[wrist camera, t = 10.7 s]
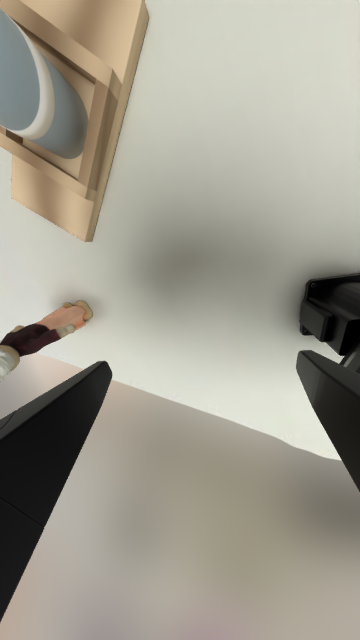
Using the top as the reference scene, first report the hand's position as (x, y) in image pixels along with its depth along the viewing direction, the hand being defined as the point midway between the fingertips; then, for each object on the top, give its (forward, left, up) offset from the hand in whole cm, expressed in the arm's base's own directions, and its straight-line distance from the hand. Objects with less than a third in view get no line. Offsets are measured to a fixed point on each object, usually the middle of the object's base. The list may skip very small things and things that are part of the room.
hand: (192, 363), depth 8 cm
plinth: (+9, -16, -13) cm, 22 cm away
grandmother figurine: (+17, +1, -13) cm, 22 cm away
